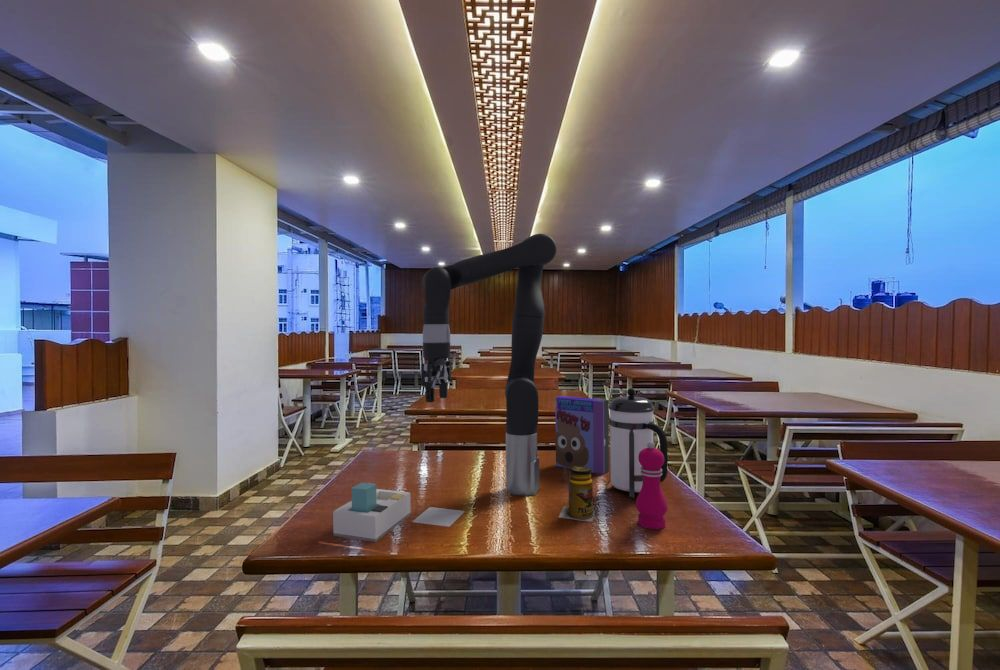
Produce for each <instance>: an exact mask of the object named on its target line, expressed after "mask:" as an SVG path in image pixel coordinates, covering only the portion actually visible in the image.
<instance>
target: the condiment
mask: <svg viewBox="0 0 1000 670" xmlns="http://www.w3.org/2000/svg"><path fill="white" fill-rule="evenodd" d="M593 483H594V481H593V478H592V473H591V469H590V468H588V467H585V466H573V467H571V469H569V478H568V506H563V507H562V509H561V511H560V513H559V516H558V519H559V518H560V519H561V518H562V519H568V520H576V521H580V522H581V521H582V522H591V523H592V522H593V521H594V519H595V515H596V510H595V509H593V508H594V506H593V504H594V502H593V498H594V497H593V492H594V491H593Z"/></svg>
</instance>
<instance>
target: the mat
mask: <svg viewBox="0 0 1000 670" xmlns="http://www.w3.org/2000/svg"><path fill="white" fill-rule="evenodd" d="M464 513H465V510H460V509H459V510H458V509H450V508H449V509H448V508H444V507H443V508H440V507H432V506H429V507H427V509H426V510H424V511H423V512H422V513H421V514H420V515H418V516H417V517H416V518H415V519H413V520H411V523H417V524H423V525H424V524H425V525H431V526H432V525H433V526H440V527H448V528H449V527H451V526H452V525H453V524H454V523H455V522H456V521H457V520H459V518H460V517H461V516H462V515H463V514H464Z"/></svg>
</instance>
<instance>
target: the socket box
mask: <svg viewBox="0 0 1000 670" xmlns="http://www.w3.org/2000/svg"><path fill="white" fill-rule="evenodd" d="M376 505H377V507H375V508H373V509H372V510H371V511H370V512H368V513H364V512H356V511H352V500H350V501H348V502H347V503H344V505H341V506H339V507H338V508H336V509H335V510H332V511H333V512H332V514H333V515H332V516H333V517H332V518H333V519H332V521H333V522H332V523H333V525H332V526H333V530H332V531H333V537H339V538H345V539H352V540H360V541H366V542H373V543H377V542H378V541H379V540H380V539H381V538H383V537H384V536H385V535H386V534H388V533H389V532H391V530H392V531H393V529H394V528H396V527H397V526H398V525H400V524H401V523H402V522H403V521H404V520H406V519H407V518H408V517H409V516H411V492H407V491H401V490H400V491H398V490H391V489H382V488H380V489H379V488H376Z"/></svg>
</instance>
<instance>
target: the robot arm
mask: <svg viewBox="0 0 1000 670" xmlns="http://www.w3.org/2000/svg"><path fill="white" fill-rule="evenodd" d="M556 254H557V244H556V242H555V239H554V238H553V237H552V236H550V235H549V234H545V233H536V234H533V235H531V236H529V237H527V238H525V239H524V240H523V241H522V242H519V243H517V244H514V245H512V246H509V247H506V248H502V249H499V250H495V251H491V252H487V253H483V254H480V255H479V254H478V255H475V256H471V257H469V258H465V259H461V260H459V261H457V262H455V263H453V264H451V265H447V266H443V267H441V266H434V267H431V268H430V269H429V270H427V272H425V273H424V274H423V276H422V278H421V279H422V280H421V286H422V288H423V289H424V292H425V294H424V295H425V297H424V298H425V301H424V302H425V304H424V306H423V315H422V316H423V328H422V358H423V359H425V360H426V359H427V363H421V367H420V369H421V375H420V382H421V383H420V386H421V387H424V389H425V402H426V403H434V402H435V386H436V383H437V382H438V383H439V387H438V389H439V393H438V397H439V398H440V399H446V398H448V385H449V383H450V382H452V365H451V364H452V362H451V360H446V359H449V358H451V329H450V309H449V308H450V306H449V305H450V300H451V291H452V290H455V289H457V288H459V287H463V286H468V285H473V284H474V283H479V282H481V281H482V282H483V281H484V280H487V279H489V278H490V279H491V278H492V277H495V276H498V275H500V274H504V273H506V272H509V271H512V270H515V269H517V270H518V271H517V272H518V273H517V274H518V276H517V286H516V294H515V303H514V309H513V310H514V311H513V318H512V327H511V343H510V344H511V345H510V346H511V349H510V351H511V356H510V366H509V370H508V371H509V372H508V374H507V375H508V376H507V380H506V385H505V389H504V394H505V400H506V402H505V404H506V408H505V409H506V413H505V414H506V418H505V419H506V420H505V479H506V480H505V481H506V482H505V486H506V487H505V489H506V490H505V491H506V492H507V494H509V495H514V496H520V497H521V496H535V495H537V493H538V491H540V457H539V456H538V425H539V389H538V388H537V386H536V385H535V367H536V366H535V365H536V359H537V356H538V353H539V350H540V346H541V342H542V339H543V334H544V325H545V317H546V316H545V315H546V308H545V303H544V298H543V297H544V296H543V292H542V277H543V270H544V266H545V265H548V264H549V263H551V261H552V260H553V259H554V258H555V256H556Z"/></svg>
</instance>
